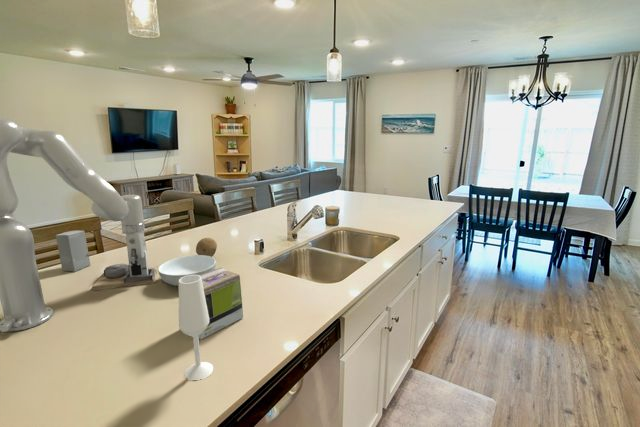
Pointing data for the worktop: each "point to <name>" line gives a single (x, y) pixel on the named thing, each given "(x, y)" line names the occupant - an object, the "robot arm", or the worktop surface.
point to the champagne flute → (194, 321)
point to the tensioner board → (122, 277)
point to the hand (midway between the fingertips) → (139, 270)
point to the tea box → (221, 299)
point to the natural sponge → (206, 247)
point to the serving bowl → (185, 267)
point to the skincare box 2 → (143, 265)
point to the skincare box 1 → (73, 250)
